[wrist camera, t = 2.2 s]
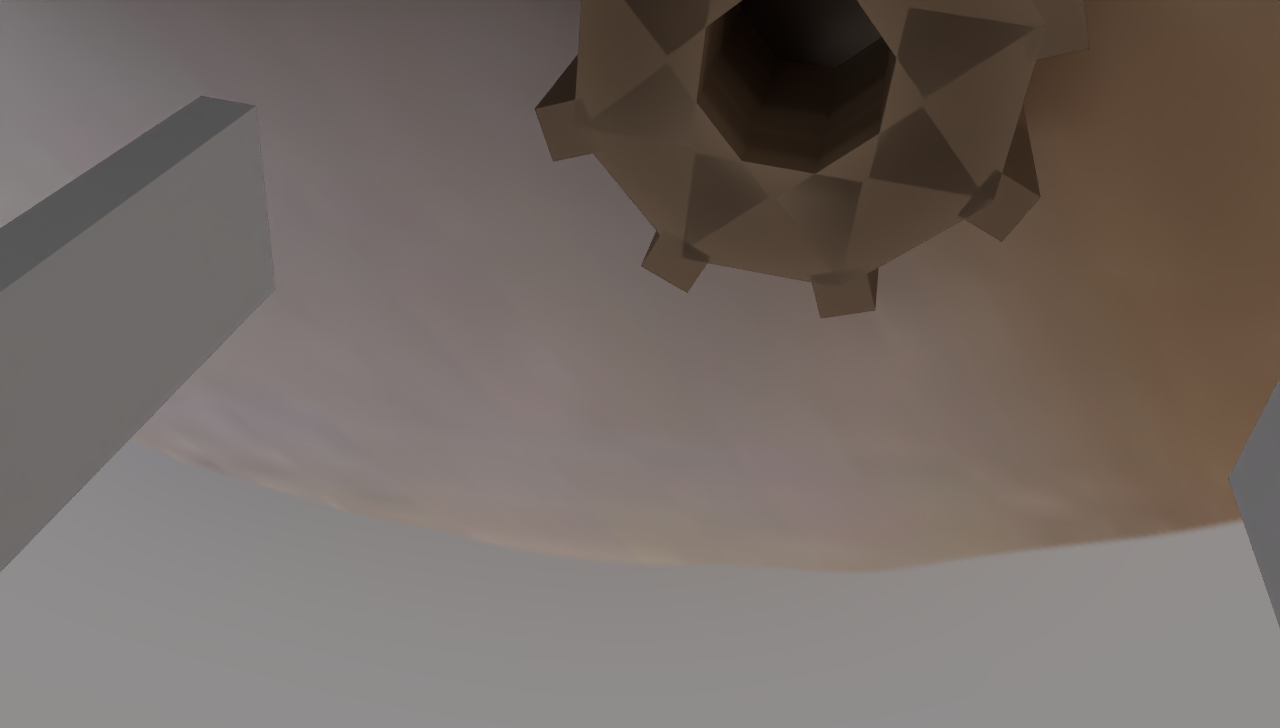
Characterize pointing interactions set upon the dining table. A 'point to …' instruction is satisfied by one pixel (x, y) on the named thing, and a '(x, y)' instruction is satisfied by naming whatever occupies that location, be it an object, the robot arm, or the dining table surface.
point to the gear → (808, 133)
